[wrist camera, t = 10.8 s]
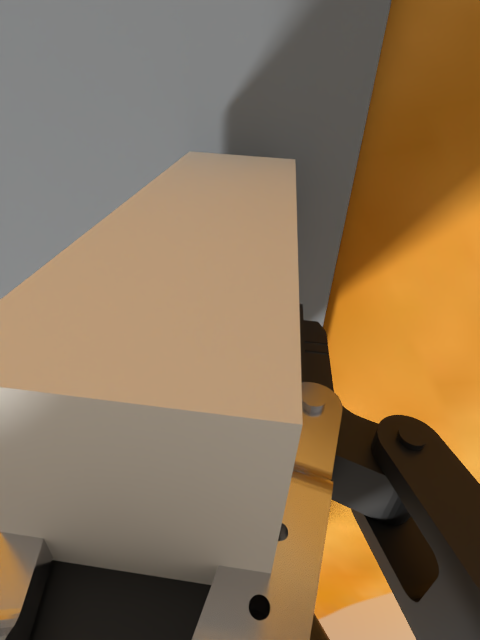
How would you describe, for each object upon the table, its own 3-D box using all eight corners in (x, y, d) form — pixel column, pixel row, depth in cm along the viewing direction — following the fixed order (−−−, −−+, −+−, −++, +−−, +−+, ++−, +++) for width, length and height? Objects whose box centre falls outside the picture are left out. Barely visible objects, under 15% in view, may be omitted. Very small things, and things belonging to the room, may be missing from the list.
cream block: (189, 151, 12) (-97, 374, 3) (295, 159, 12) (302, 424, 3) (195, 359, 17) (88, 675, 8) (269, 367, 17) (244, 702, 8)
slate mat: (-206, -127, 11) (-229, -136, 11) (410, -112, 10) (417, -122, 9) (11, 397, 23) (5, 404, 23) (298, 433, 22) (298, 441, 22)
